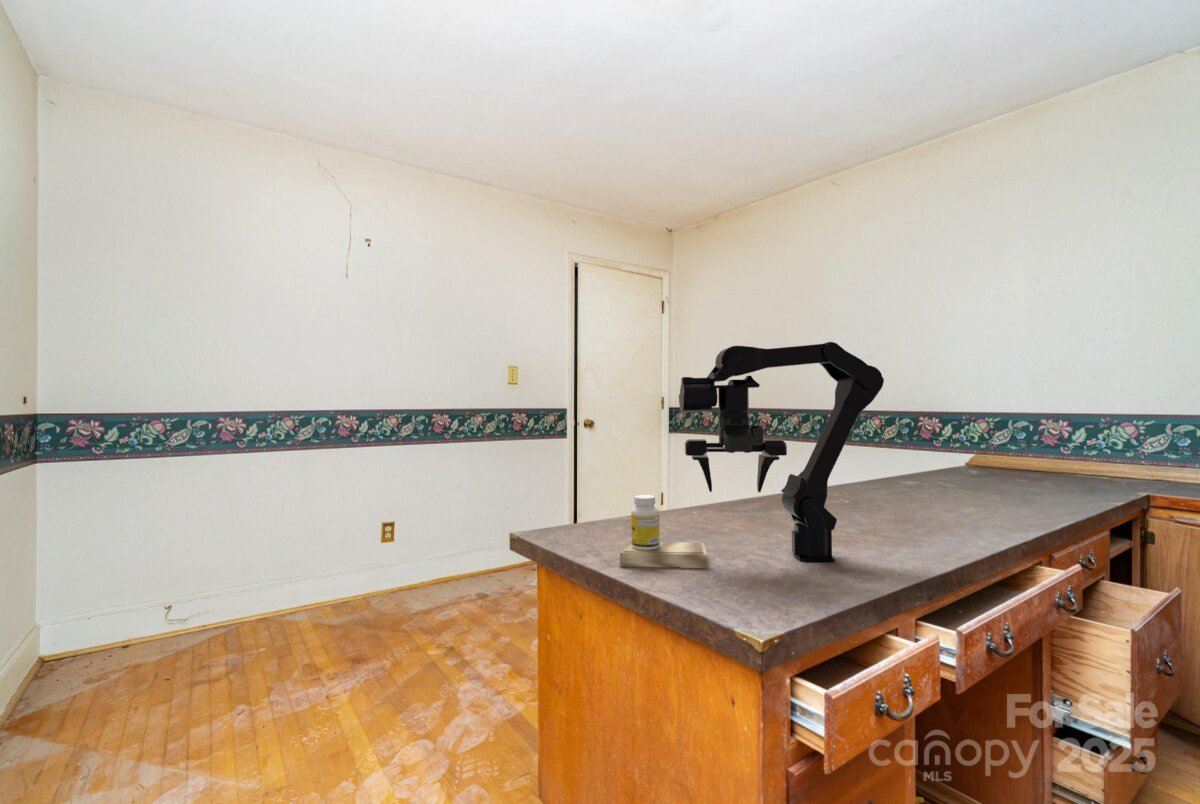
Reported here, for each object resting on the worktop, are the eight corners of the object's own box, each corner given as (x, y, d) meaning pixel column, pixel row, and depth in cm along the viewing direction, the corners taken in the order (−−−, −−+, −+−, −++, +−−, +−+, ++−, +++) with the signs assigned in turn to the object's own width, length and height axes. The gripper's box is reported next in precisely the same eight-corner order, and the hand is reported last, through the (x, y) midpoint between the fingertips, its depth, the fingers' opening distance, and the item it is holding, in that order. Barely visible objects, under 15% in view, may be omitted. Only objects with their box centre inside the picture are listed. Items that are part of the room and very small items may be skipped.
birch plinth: (703, 555, 107) (703, 542, 107) (707, 568, 99) (706, 553, 99) (623, 554, 109) (623, 540, 109) (620, 566, 101) (620, 552, 101)
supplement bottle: (633, 543, 107) (633, 493, 107) (661, 544, 106) (660, 494, 106) (629, 550, 102) (628, 498, 102) (658, 551, 101) (657, 499, 101)
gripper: (686, 413, 98) (687, 498, 98) (793, 411, 96) (794, 499, 96) (684, 411, 109) (685, 489, 109) (779, 410, 107) (780, 489, 107)
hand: (734, 491), depth 105 cm, fingers open, 9 cm apart
